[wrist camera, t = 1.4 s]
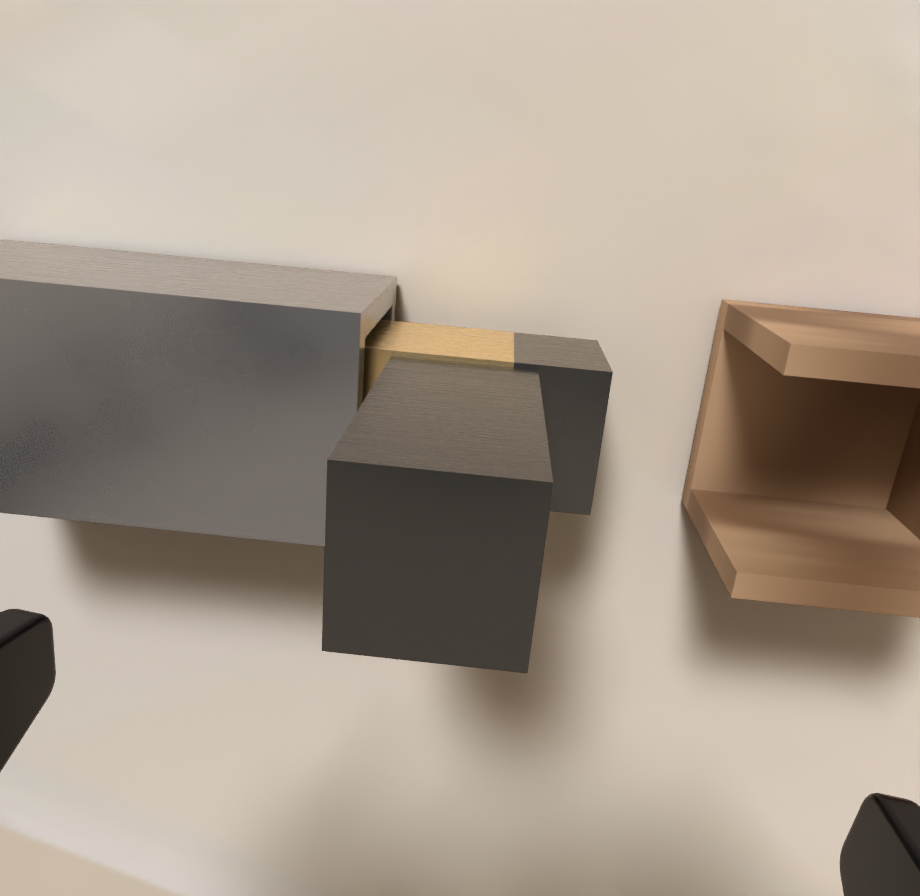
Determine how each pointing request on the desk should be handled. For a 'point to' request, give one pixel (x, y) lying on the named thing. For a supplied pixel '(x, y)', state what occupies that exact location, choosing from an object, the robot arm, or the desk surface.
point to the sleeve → (177, 388)
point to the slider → (456, 490)
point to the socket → (811, 458)
